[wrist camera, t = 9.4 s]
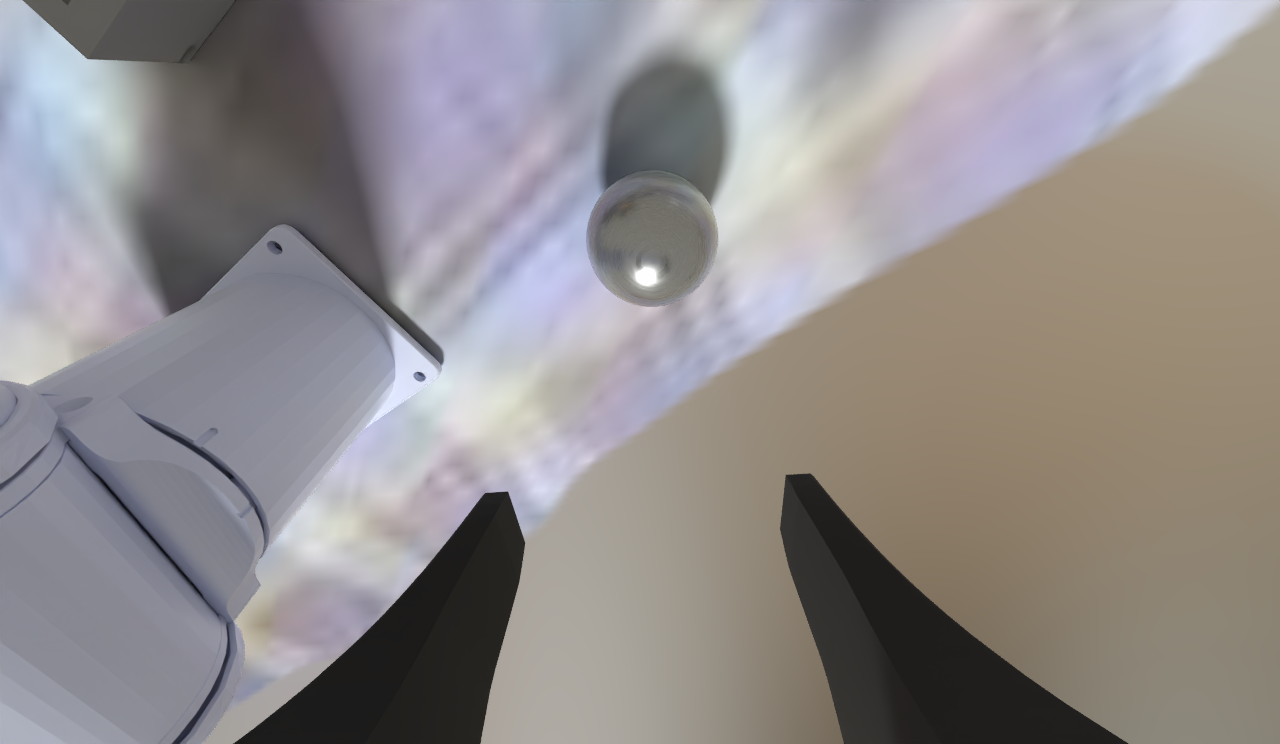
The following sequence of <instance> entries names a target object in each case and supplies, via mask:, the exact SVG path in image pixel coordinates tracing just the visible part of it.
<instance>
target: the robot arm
mask: <svg viewBox="0 0 1280 744" xmlns="http://www.w3.org/2000/svg"><path fill="white" fill-rule="evenodd" d="M274 241H275V242H277V243H278V244H279V245H280V246H281V247H282V251H280V250H279V249H277V247H276V246H275V244H274ZM441 371H442V368H441V365H440V363H439V362H438V361H437V360H436V359H435V358H434V357H433V356H432V355H430V354H429V353H428V352H427V351H426V350H425V349H424V348H423V347H422V346H421V345H420V344H419V343H418V342H416V341H415V340H414V339H413V338H412V337H411V336H410V335H409V334H408V333H407V332H406V331H405V330H404V329H402V328H401V327H400V326H399V325H398V324H397V323H396V322H395V321H394V320H393V319H392V318H391V317H390V316H388V315H387V314H386V313H385V312H384V311H383V310H382V309H381V308H380V307H379V306H378V305H377V304H376V303H374V302H373V301H372V300H371V299H370V298H369V297H368V296H367V295H366V294H365V293H364V292H363V291H362V290H360V289H359V288H358V287H357V286H356V285H355V284H354V283H353V282H352V281H351V280H350V279H349V278H348V277H346V276H345V275H344V274H343V273H342V272H341V271H340V270H339V269H338V268H337V267H336V266H335V265H334V264H332V263H331V262H330V261H329V260H328V259H327V258H326V257H325V256H324V255H323V254H322V253H321V252H320V251H318V250H317V249H316V248H315V247H314V246H313V245H312V244H311V243H310V242H309V241H308V240H307V239H306V238H304V237H303V236H302V235H301V234H300V233H299V232H298V231H297V230H296V229H294V228H293V227H291V226H289V225H286V224H280V225H278V226H275V227H273V228H272V229H270V230H269V231H268V232H267V233H266V234H265V235H264V236H263V237H262V238H261V239H260V240H259V241H258V242H257V243H256V244H255V245H254V246H253V247H252V248H251V249H250V250H249V251H248V252H247V253H246V254H245V255H244V256H243V257H242V258H241V259H240V260H239V261H238V262H237V263H236V264H235V265H234V266H233V267H232V268H231V269H230V270H229V271H228V272H227V273H226V274H225V275H224V276H223V277H222V278H221V279H220V280H219V282H218V283H217V284H216V285H215V286H214V287H213V288H212V289H211V290H210V291H209V292H208V293H207V294H206V295H205V296H204V297H203V298H202V299H201V300H200V301H198V302H196V303H194V304H192V305H190V306H188V307H186V308H184V309H182V310H180V311H178V312H176V313H174V314H171V315H169V316H167V317H165V318H163V319H161V320H159V321H157V322H155V323H153V324H151V325H149V326H147V327H145V328H143V329H141V330H139V331H137V332H135V333H133V334H131V335H129V336H127V337H125V338H123V339H121V340H119V341H117V342H115V343H113V344H111V345H109V346H107V347H105V348H103V349H101V350H99V351H97V352H95V353H93V354H91V355H89V356H87V357H85V358H83V359H81V360H79V361H77V362H75V363H73V364H71V365H69V366H67V367H65V368H63V369H61V370H59V371H57V372H55V373H53V374H51V375H49V376H47V377H45V378H43V379H41V380H39V381H37V382H35V383H33V384H31V385H29V386H27V385H23V384H19V383H15V382H9V381H0V744H204V742H205V741H206V740H207V738H208V737H209V735H210V734H211V732H212V731H213V730H214V728H215V727H216V725H217V724H218V722H219V721H220V719H221V718H222V716H223V714H224V712H225V710H226V709H227V707H228V705H229V703H230V701H231V700H232V698H233V695H234V693H235V690H236V688H237V685H238V683H239V680H240V678H241V674H242V669H243V665H244V660H245V644H244V640H243V636H242V633H241V630H240V628H239V627H238V625H237V624H236V622H235V621H234V620H235V619H236V618H237V616H238V615H239V614H240V613H241V611H242V610H243V609H244V607H245V606H246V605H247V603H248V602H249V601H250V599H251V598H252V597H253V595H254V594H255V593H256V591H257V590H258V589H259V587H260V586H261V585H260V583H259V581H258V579H257V578H256V574H255V567H256V565H257V563H258V561H259V559H260V558H261V557H262V556H263V555H264V554H265V553H266V551H267V550H268V549H269V548H270V546H271V545H272V544H273V543H274V541H275V540H276V539H277V538H278V536H279V535H280V534H281V533H282V531H283V530H284V529H285V528H286V526H287V525H288V524H289V523H290V521H291V520H292V519H293V518H294V516H295V515H296V514H297V513H298V511H299V510H300V509H301V507H302V506H303V505H304V504H305V502H306V501H307V500H308V499H309V497H310V496H311V495H312V494H313V492H314V491H315V490H316V489H317V487H318V486H319V485H320V484H321V482H322V481H323V480H324V479H325V477H326V476H327V475H328V474H329V472H330V471H331V470H332V469H333V467H334V466H335V465H336V464H337V462H338V461H339V460H340V459H341V457H342V456H343V455H344V454H345V452H346V451H347V450H348V449H349V447H350V446H351V445H352V444H353V442H354V441H355V440H356V439H357V437H358V436H359V435H360V434H361V432H362V431H363V430H364V429H365V428H367V427H368V426H369V425H371V424H372V423H374V422H375V421H377V420H378V419H379V418H381V417H382V416H384V415H385V414H387V413H388V412H389V411H391V410H392V409H394V408H395V407H397V406H398V405H399V404H401V403H402V402H404V401H405V400H407V399H408V398H409V397H411V396H412V395H414V394H415V393H417V392H418V391H419V390H421V389H422V388H424V387H425V386H427V385H428V384H429V383H431V382H432V381H434V380H435V379H436V378H437V377H438V376H439V375H440V373H441ZM417 372H421V373H423V374H424V375H425V376H426V377H422V376H420V375H419V374H418V373H417ZM780 531H781V535H782V539H783V544H784V548H785V553H786V557H787V561H788V565H789V568H790V572H791V575H792V578H793V580H794V583H795V586H796V589H797V592H798V595H799V598H800V600H801V603H802V606H803V609H804V612H805V615H806V617H807V620H808V623H809V626H810V629H811V631H812V634H813V637H814V640H815V643H816V646H817V648H818V651H819V654H820V656H821V660H822V663H823V666H824V669H825V673H826V676H827V679H828V683H829V686H830V690H831V694H832V698H833V702H834V706H835V710H836V713H837V717H838V721H839V725H840V729H841V733H842V737H843V741H844V744H1128V743H1127V742H1125V741H1123V740H1122V739H1120V738H1119V737H1117V736H1116V735H1114V734H1112V733H1111V732H1109V731H1108V730H1106V729H1105V728H1103V727H1101V726H1100V725H1098V724H1097V723H1095V722H1094V721H1092V720H1090V719H1089V718H1087V717H1086V716H1084V715H1083V714H1081V713H1080V712H1078V711H1076V710H1075V709H1073V708H1072V707H1070V706H1069V705H1067V704H1066V703H1064V702H1063V701H1061V700H1060V699H1058V698H1057V697H1055V696H1054V695H1053V694H1051V693H1050V692H1048V691H1047V690H1045V689H1044V688H1042V687H1041V686H1040V685H1038V684H1037V683H1035V682H1034V681H1032V680H1031V679H1029V678H1028V677H1027V676H1025V675H1024V674H1023V673H1021V672H1020V671H1019V670H1017V669H1016V668H1015V667H1013V666H1012V665H1011V664H1009V663H1008V662H1007V661H1005V660H1004V659H1003V658H1001V657H1000V656H999V655H997V654H996V653H994V651H992V650H991V649H990V648H988V647H987V646H986V645H984V644H983V643H982V642H980V641H979V640H978V639H976V638H975V637H973V636H972V635H971V634H970V633H969V632H968V631H966V630H965V629H964V628H963V627H961V626H960V625H959V624H958V623H957V622H955V621H954V620H953V619H952V618H951V617H949V616H948V615H947V614H946V613H945V612H943V611H942V610H941V609H940V608H939V607H938V606H936V605H935V604H934V603H933V602H932V601H931V600H930V599H928V598H927V597H926V596H925V595H924V594H923V593H922V592H921V591H920V590H919V589H917V588H916V587H915V586H914V585H913V584H912V583H911V582H910V581H909V580H908V579H907V578H906V577H905V576H903V575H902V573H900V571H898V570H897V569H896V568H895V567H894V566H893V565H892V564H891V563H890V562H889V561H888V560H887V559H886V558H885V557H884V556H883V555H882V554H881V553H880V552H879V551H878V549H876V547H875V546H874V545H873V544H872V543H871V542H870V541H869V540H868V539H867V538H866V537H865V536H864V535H863V533H861V531H860V530H859V529H858V528H857V527H856V526H855V525H854V524H853V523H852V521H851V520H850V519H849V518H848V517H847V516H846V515H845V513H844V512H843V511H842V510H841V509H840V508H839V506H838V505H837V504H836V503H835V502H834V501H833V500H832V498H831V497H830V496H829V495H828V493H827V492H826V491H825V490H824V489H823V487H822V486H821V485H820V484H819V482H818V481H817V480H816V479H815V477H814V476H812V475H811V474H796V475H795V474H794V475H786V480H785V488H784V498H783V507H782V517H781V526H780ZM524 547H525V541H524V538H523V535H522V532H521V529H520V526H519V523H518V520H517V517H516V514H515V511H514V508H513V505H512V502H511V499H510V496H509V493H508V492H495V493H485V494H484V495H483V496H482V498H481V499H480V500H479V501H478V503H477V504H476V505H475V506H474V508H473V509H472V510H471V512H470V513H469V514H468V516H467V517H466V518H465V519H464V521H463V522H462V523H461V525H460V526H459V527H458V529H457V530H456V531H455V532H454V534H453V535H452V536H451V537H450V539H449V540H448V541H447V542H446V544H445V545H444V546H443V547H442V549H441V550H440V551H439V552H438V553H437V555H436V556H435V557H434V558H433V560H432V561H431V562H430V563H429V564H428V566H427V567H426V568H425V569H424V570H423V572H422V573H421V574H420V575H419V576H418V577H417V578H416V579H415V581H414V582H413V583H412V584H411V585H410V586H409V587H408V589H407V590H406V591H405V592H404V593H403V594H402V595H401V596H400V598H399V599H398V600H397V601H396V602H395V603H394V604H393V605H392V606H391V607H390V608H389V609H388V610H387V611H386V612H385V614H384V615H383V616H382V617H381V618H380V619H379V620H378V621H377V622H376V623H375V624H374V625H373V626H372V627H371V628H370V629H369V630H368V631H367V632H366V633H365V634H364V635H363V636H362V637H361V638H360V639H359V640H357V641H356V642H355V643H354V644H353V645H352V646H351V647H350V648H349V649H348V650H347V651H346V652H345V653H343V654H342V655H341V656H340V657H339V658H338V659H337V660H336V661H335V662H333V663H332V664H331V665H330V666H329V667H328V668H327V669H326V670H324V671H323V672H322V673H321V674H320V675H319V676H318V677H317V678H316V679H314V680H313V681H312V682H311V683H310V684H309V685H307V686H306V687H305V688H304V689H303V690H301V691H300V692H299V693H298V694H297V695H295V696H294V697H293V698H292V699H290V700H289V701H288V702H287V703H286V704H284V705H283V706H282V707H281V708H279V709H278V710H277V711H276V712H274V713H273V714H272V715H270V716H269V717H268V718H267V719H265V720H264V721H263V722H262V723H260V724H259V725H258V726H256V727H255V728H254V729H253V730H251V731H250V732H249V733H247V734H246V735H245V736H243V737H242V738H241V739H239V740H238V741H237V742H235V743H234V744H480V743H481V737H482V731H483V726H484V720H485V715H486V710H487V704H488V699H489V693H490V689H491V684H492V680H493V676H494V672H495V668H496V665H497V661H498V657H499V653H500V650H501V646H502V643H503V639H504V636H505V632H506V629H507V625H508V621H509V618H510V614H511V611H512V607H513V603H514V599H515V595H516V592H517V588H518V584H519V579H520V574H521V568H522V561H523V554H524Z"/></svg>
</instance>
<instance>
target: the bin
mask: <svg viewBox="0 0 1280 744" xmlns="http://www.w3.org/2000/svg"><path fill="white" fill-rule="evenodd" d="M23 1H24V2H25V3H26V4H28V5H29V6H30V7H31V8H32V9H33V10H34V11H35V12H36V13H37V14H39V15H40V16H41V17H42V18H43V19H44V20H45V21H46V22H47V23H48V24H50V25H51V26H52V27H53V28H54V29H55V30H56V31H57V32H58V33H59V34H61V35H62V36H63V37H64V38H65V39H66V40H67V41H68V42H69V43H70V44H72V45H73V46H74V47H75V48H76V49H77V50H78V51H79V52H80V53H81V54H83V55H84V56H85V57H86V58H87V59H98V60H124V61H150V62H175V63H189V61H190V60H191V59H192V57H193V56H194V55H195V53H196V52H197V51H198V49H199V48H200V47H201V45H202V44H203V43H204V41H205V40H206V39H207V38H208V36H209V35H210V34H211V32H212V31H213V30H214V28H215V27H216V26H217V24H218V23H219V22H220V20H221V19H222V18H223V16H224V15H225V14H226V13H227V11H228V10H229V9H230V7H231V6H232V5H233V3H234V2H235V1H236V0H23Z"/></svg>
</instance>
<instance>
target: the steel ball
mask: <svg viewBox="0 0 1280 744" xmlns="http://www.w3.org/2000/svg"><path fill="white" fill-rule="evenodd" d="M586 242H587V251H588V256H589V259H590V262H591V265H592V268H593V270H594V272H595V274H596V275H597V277H598V278H599V280H600V281H601V282H602V283H603V285H604V286H605V287H606V288H607V289H608V290H609V291H611V292H612V293H613V294H614V295H616V296H617V297H619V298H620V299H622V300H624V301H626V302H629V303H632V304H635V305H639V306H646V307H658V306H665V305H668V304H672V303H675V302H677V301H679V300H681V299H683V298H685V297H687V296H688V295H689V294H691V293H692V292H693V291H694V290H695V289H697V288H698V287H699V285H700V284H701V283H702V282H703V281H704V280H705V278H706V277H707V275H708V273H709V272H710V270H711V268H712V266H713V263H714V260H715V257H716V252H717V247H718V229H717V224H716V219H715V216H714V213H713V210H712V208H711V206H710V204H709V202H708V201H707V199H706V198H705V197H704V195H703V194H702V193H701V192H700V191H699V190H698V189H697V188H696V187H695V186H694V185H693V184H692V183H690V182H689V181H688V180H686V179H684V178H683V177H681V176H678V175H676V174H674V173H670V172H666V171H660V170H645V171H639V172H635V173H632V174H629V175H627V176H625V177H623V178H621V179H619V180H618V181H616V182H615V183H613V184H612V185H611V186H610V187H609V188H608V189H607V190H606V191H605V192H604V193H603V194H602V195H601V197H600V198H599V200H598V201H597V203H596V204H595V206H594V208H593V210H592V212H591V215H590V218H589V222H588V227H587V238H586Z"/></svg>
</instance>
